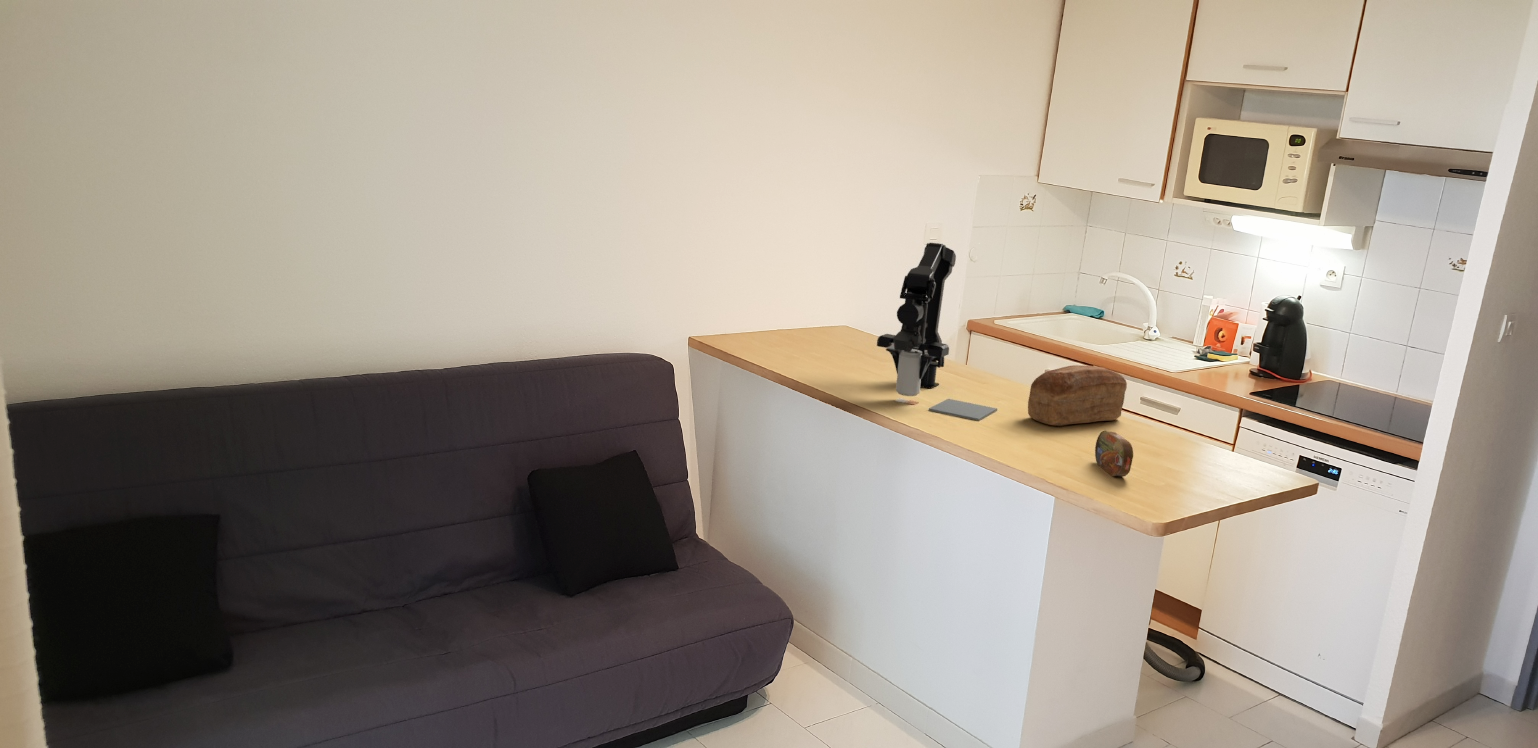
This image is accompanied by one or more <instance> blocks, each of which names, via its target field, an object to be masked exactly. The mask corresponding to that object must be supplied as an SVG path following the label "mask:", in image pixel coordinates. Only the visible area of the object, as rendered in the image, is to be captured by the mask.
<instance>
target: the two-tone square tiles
mask: <svg viewBox="0 0 1538 748" xmlns="http://www.w3.org/2000/svg"><path fill="white" fill-rule="evenodd" d="M894 401H895V402H897V403H901V404H902V403H903V404H904V403H905V404H907V405H911V404H912V405H913V406H916V405H918V404H919V402H920V401H916V400H915V401H914V400H910V399H906V398H902V397H899V398H897V399H895V400H894Z"/></svg>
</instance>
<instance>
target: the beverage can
mask: <svg viewBox="0 0 1538 748" xmlns="http://www.w3.org/2000/svg"><path fill="white" fill-rule="evenodd" d="M921 355H922V351H920V350H915V349H912V350H911V351H909V352H906V351H904V350H901V353H900V354H899V363H898V374H897V373H896V385H895V390H896V391H895V392H896V393H897V394H899V395H900V396H903V397H904V396H905V397H916V396H918V395H919V394H920V391H921V387H920V384H921V379H919V373H920V367H921V361H922V360H921Z"/></svg>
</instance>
